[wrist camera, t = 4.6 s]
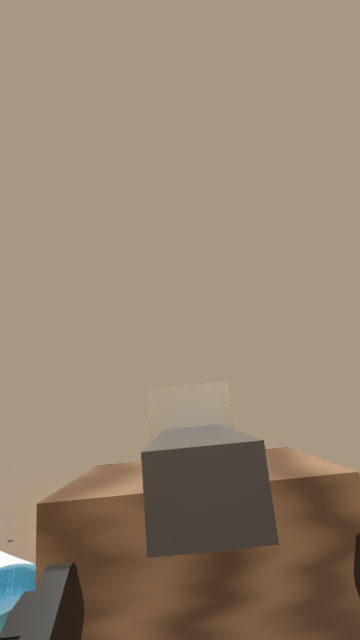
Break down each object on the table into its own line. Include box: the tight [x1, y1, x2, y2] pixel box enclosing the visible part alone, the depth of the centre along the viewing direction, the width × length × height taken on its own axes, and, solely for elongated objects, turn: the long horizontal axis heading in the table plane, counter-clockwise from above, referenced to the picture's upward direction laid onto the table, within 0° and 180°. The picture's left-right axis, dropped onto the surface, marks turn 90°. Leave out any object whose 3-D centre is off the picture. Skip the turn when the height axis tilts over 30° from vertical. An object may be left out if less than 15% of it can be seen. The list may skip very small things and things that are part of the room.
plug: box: [141, 382, 279, 558], centre depth 20 cm, size 6×19×6 cm, turn 0°
